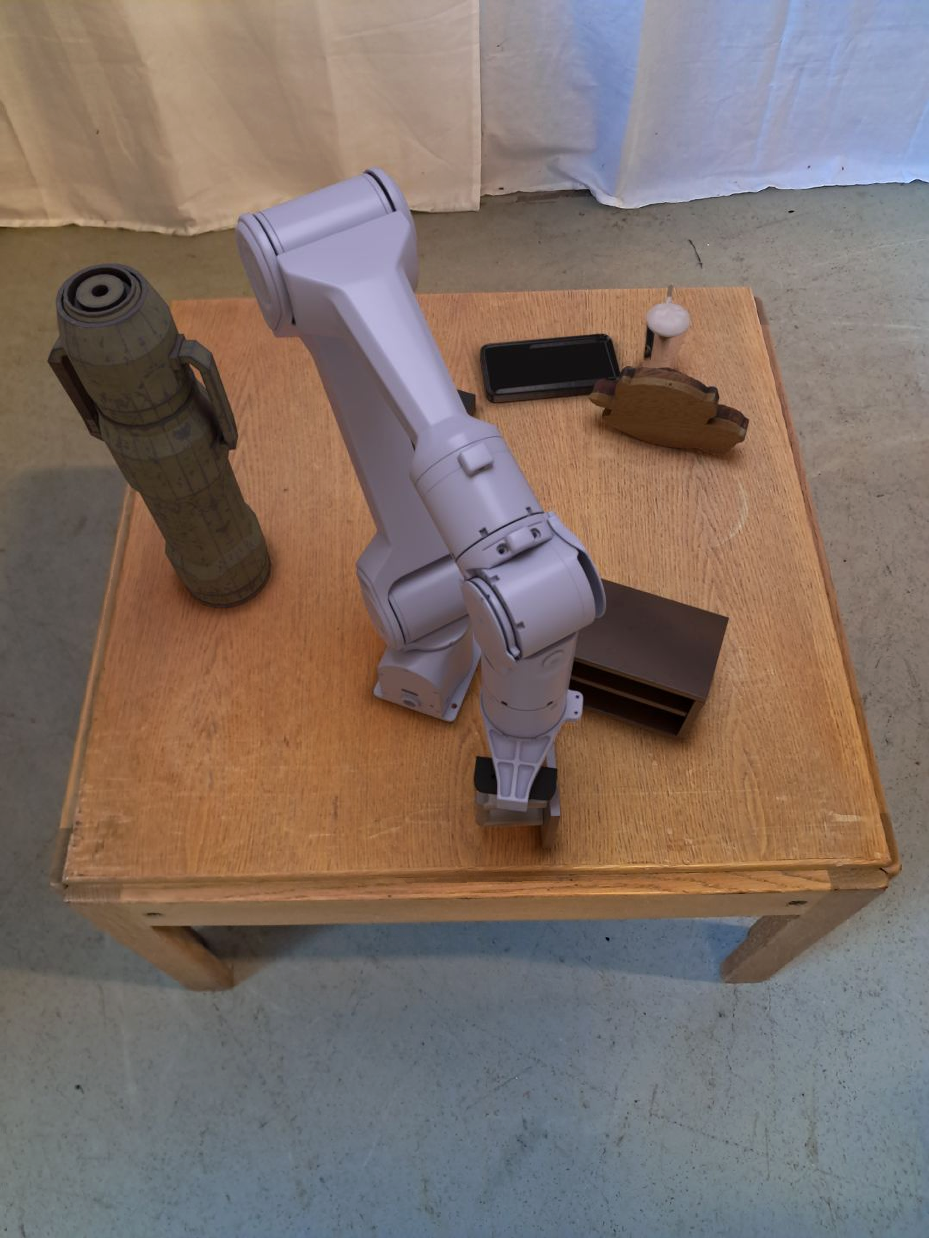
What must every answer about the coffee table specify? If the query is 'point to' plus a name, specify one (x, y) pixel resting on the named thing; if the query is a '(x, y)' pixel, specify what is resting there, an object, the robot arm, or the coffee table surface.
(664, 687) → the cupboard
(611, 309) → the coffee table surface
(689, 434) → the wooden carving
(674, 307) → the milkshake
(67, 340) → the thermos
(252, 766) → the coffee table surface
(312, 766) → the coffee table surface
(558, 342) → the phone
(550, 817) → the door
